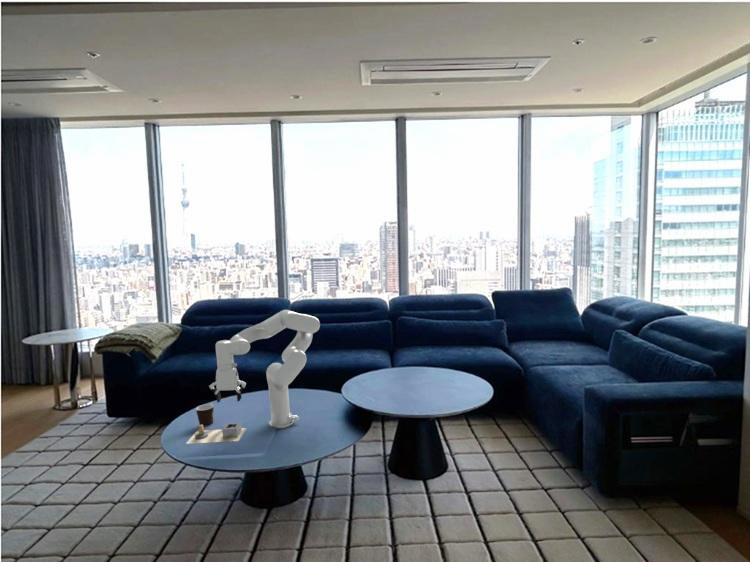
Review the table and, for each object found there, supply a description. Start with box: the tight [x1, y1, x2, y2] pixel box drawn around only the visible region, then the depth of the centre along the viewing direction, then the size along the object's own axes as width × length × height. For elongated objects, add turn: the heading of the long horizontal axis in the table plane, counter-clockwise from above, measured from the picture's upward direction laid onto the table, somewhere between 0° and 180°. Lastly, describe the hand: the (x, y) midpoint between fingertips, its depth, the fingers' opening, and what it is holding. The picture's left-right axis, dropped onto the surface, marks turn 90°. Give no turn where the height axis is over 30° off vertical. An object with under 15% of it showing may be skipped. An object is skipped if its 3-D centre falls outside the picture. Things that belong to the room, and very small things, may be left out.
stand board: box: [185, 424, 247, 445], centre depth 223 cm, size 25×14×7 cm, turn 90°
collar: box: [222, 422, 243, 438], centre depth 223 cm, size 7×7×4 cm
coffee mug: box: [195, 403, 215, 427], centre depth 240 cm, size 12×9×10 cm
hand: (229, 400), depth 222 cm, fingers open, 9 cm apart
